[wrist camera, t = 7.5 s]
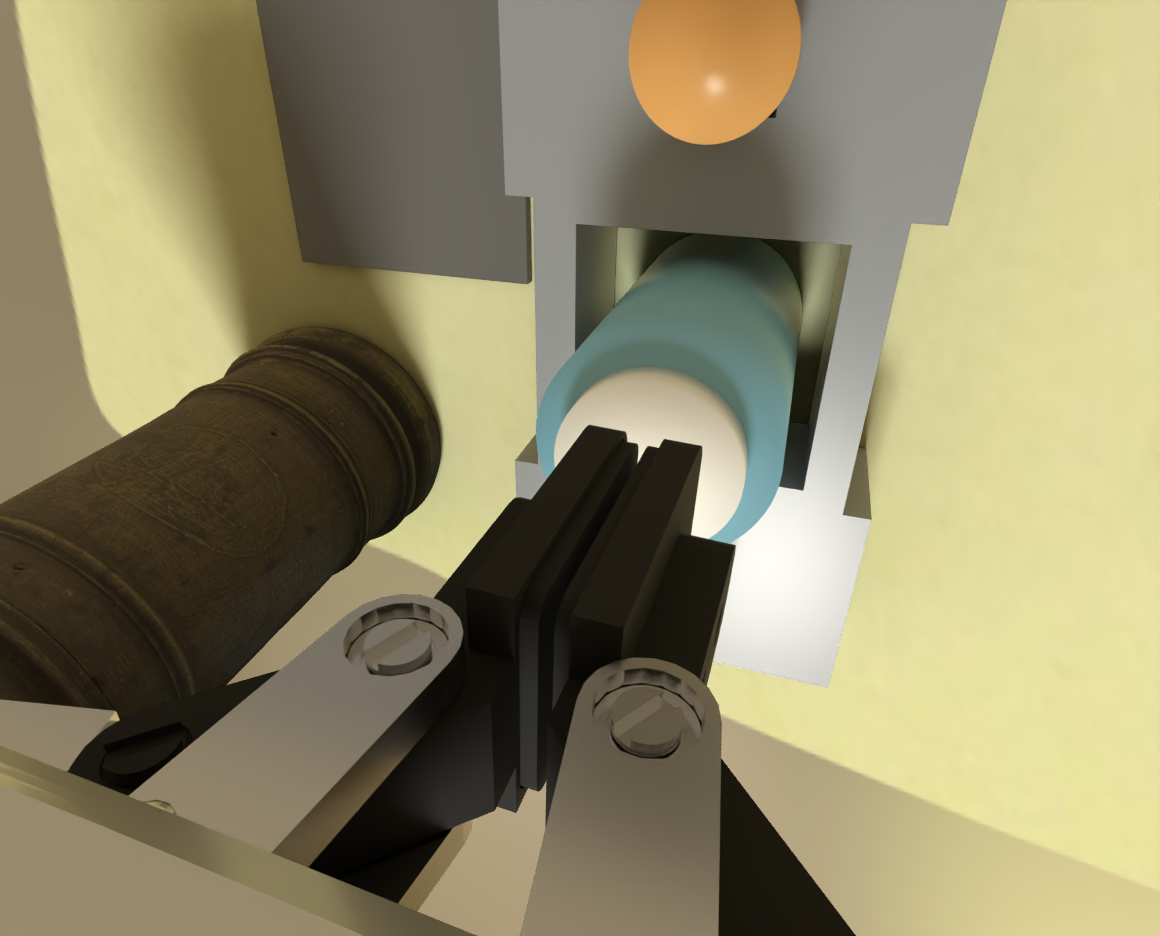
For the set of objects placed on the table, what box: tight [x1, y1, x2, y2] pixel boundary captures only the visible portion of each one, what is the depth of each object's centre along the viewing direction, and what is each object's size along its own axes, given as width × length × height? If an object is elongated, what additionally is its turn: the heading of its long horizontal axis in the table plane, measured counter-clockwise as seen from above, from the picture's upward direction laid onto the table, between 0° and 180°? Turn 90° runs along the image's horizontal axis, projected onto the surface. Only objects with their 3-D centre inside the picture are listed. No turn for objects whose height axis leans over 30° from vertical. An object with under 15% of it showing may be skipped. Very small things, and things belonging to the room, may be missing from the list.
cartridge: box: [536, 233, 802, 543], centre depth 19 cm, size 5×5×11 cm
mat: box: [256, 0, 532, 284], centre depth 24 cm, size 9×9×1 cm
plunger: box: [629, 0, 802, 145], centre depth 17 cm, size 3×3×6 cm
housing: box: [498, 0, 1007, 688], centre depth 22 cm, size 11×22×4 cm, turn 179°
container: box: [0, 327, 440, 720], centre depth 23 cm, size 9×9×18 cm
